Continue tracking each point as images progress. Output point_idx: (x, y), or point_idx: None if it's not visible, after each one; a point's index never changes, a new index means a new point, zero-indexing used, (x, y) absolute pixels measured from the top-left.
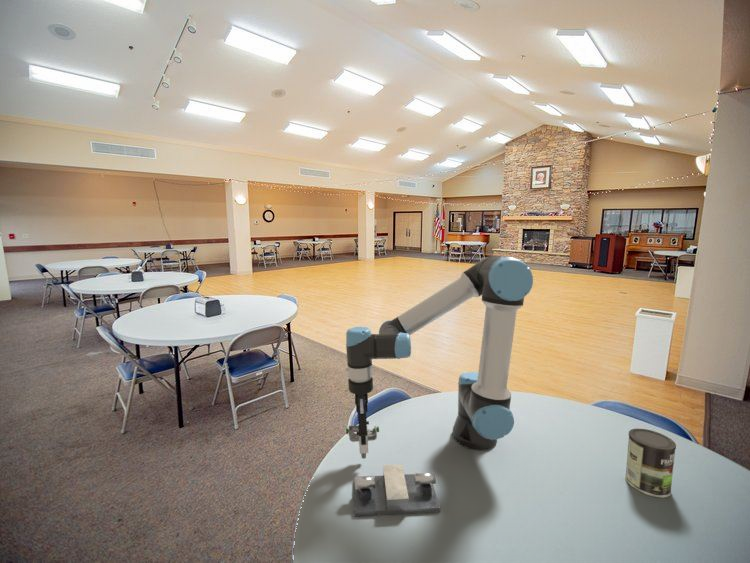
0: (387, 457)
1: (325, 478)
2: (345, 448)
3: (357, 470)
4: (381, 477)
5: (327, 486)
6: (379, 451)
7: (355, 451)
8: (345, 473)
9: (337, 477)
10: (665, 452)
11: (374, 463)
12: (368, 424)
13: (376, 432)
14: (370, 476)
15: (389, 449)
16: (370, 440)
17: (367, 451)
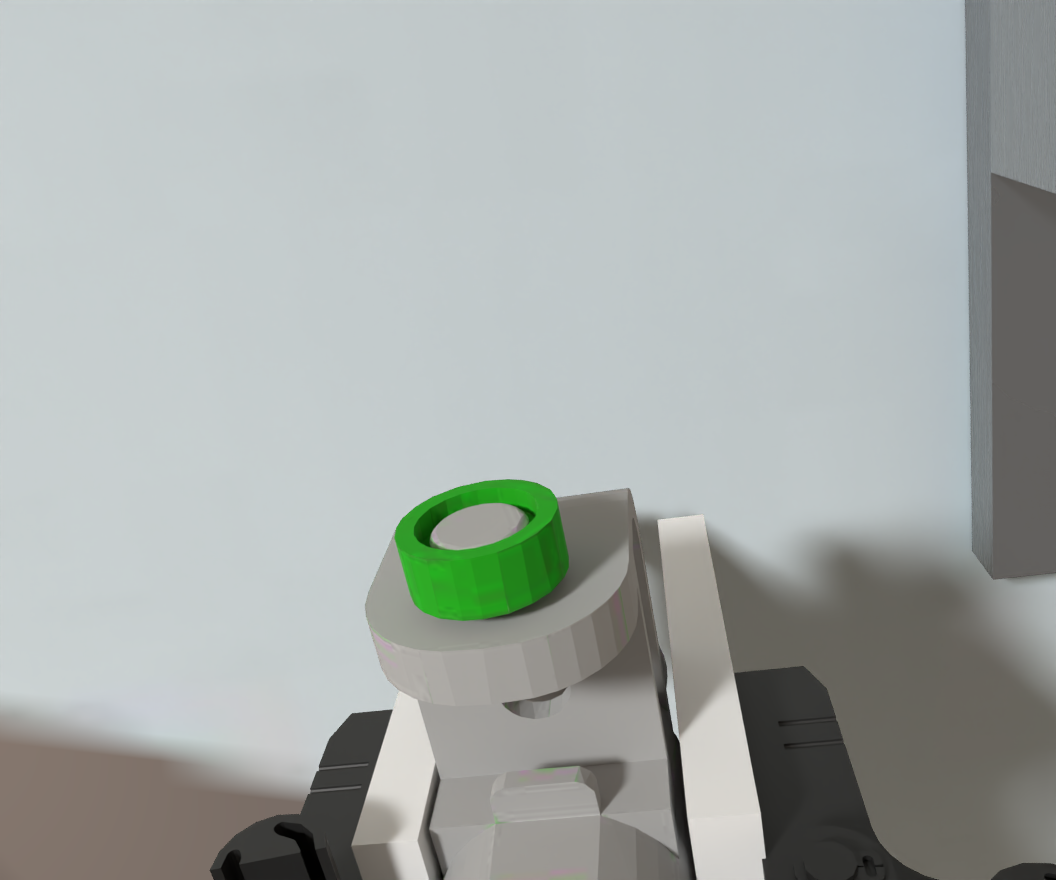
0: (421, 144)
1: (911, 866)
2: (320, 746)
3: (761, 550)
4: (1036, 198)
5: (1053, 828)
6: (292, 292)
7: (359, 623)
8: (824, 681)
9: (898, 755)
10: None
11: (594, 339)
12: (318, 830)
13: (627, 565)
14: (997, 374)
15: (204, 128)
16: (646, 595)
17: (706, 544)
